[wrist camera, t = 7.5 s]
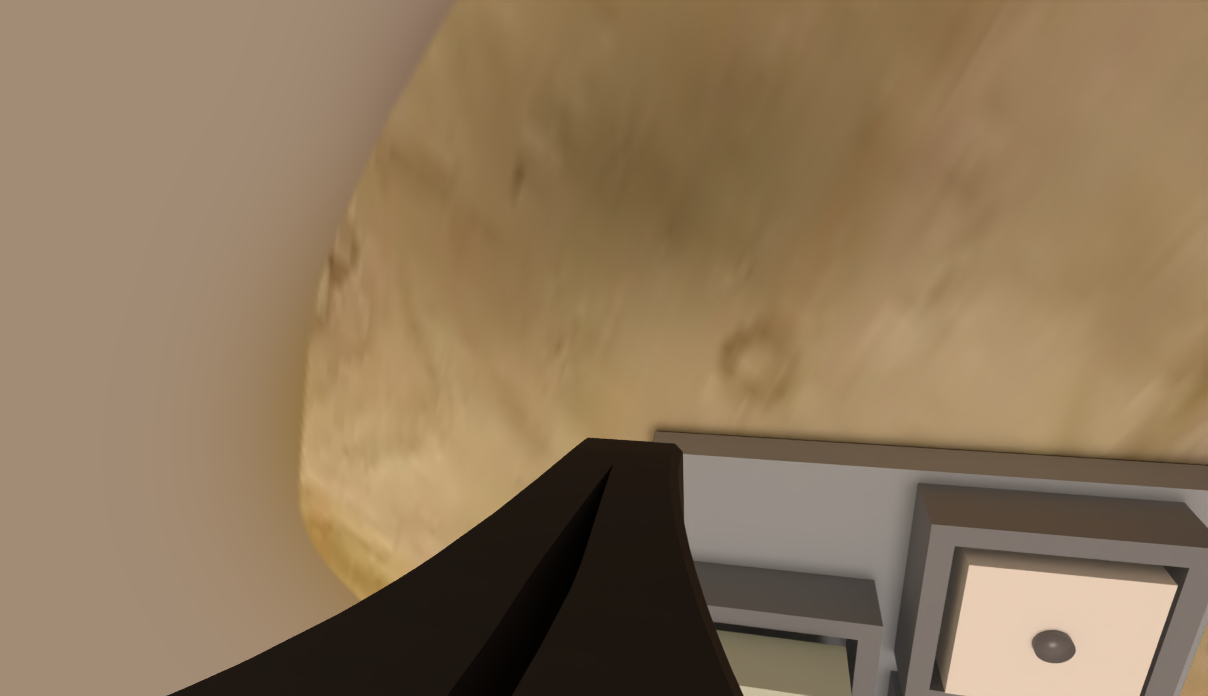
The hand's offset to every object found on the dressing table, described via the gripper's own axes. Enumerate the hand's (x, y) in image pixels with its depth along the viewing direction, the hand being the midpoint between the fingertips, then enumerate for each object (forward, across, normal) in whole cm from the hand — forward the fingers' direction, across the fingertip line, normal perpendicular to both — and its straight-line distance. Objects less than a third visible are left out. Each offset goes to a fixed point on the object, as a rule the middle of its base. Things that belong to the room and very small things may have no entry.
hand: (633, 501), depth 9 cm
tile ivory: (+9, -9, +9) cm, 15 cm away
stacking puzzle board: (+10, -6, +12) cm, 17 cm away
